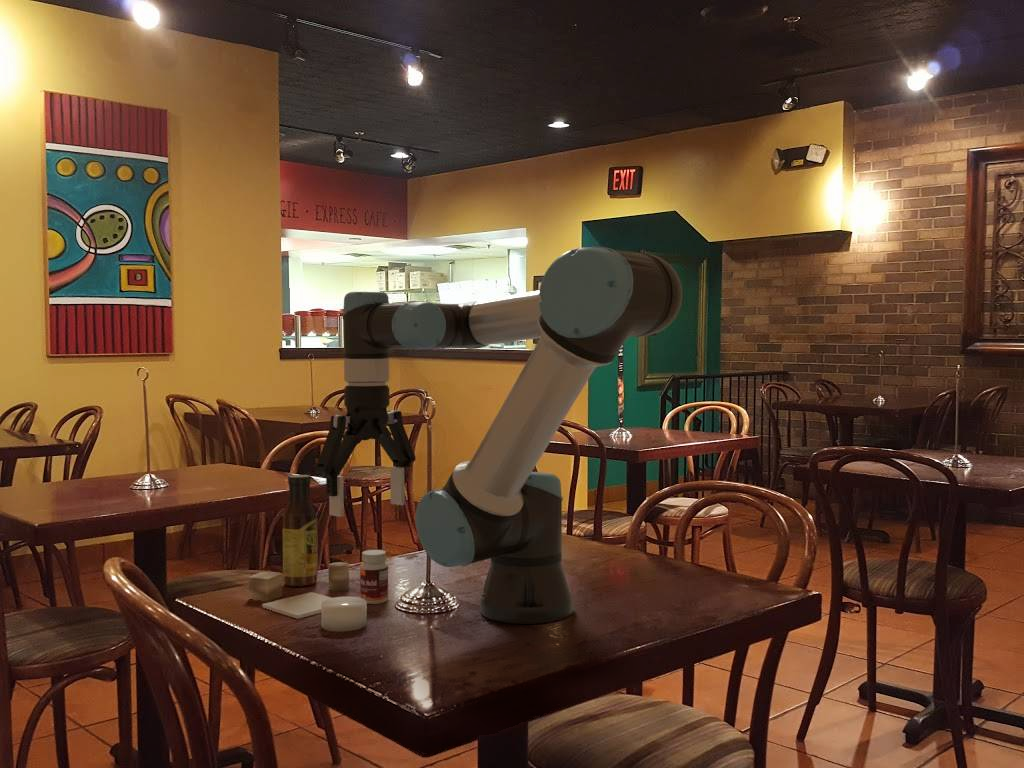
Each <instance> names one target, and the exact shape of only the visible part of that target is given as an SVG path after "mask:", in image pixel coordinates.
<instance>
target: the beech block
mask: <svg viewBox="0 0 1024 768" xmlns="http://www.w3.org/2000/svg"><path fill="white" fill-rule="evenodd" d="M282 596H283V573H277V572H271V571H270V572H267V571H261V572H258V573H256V574H253V575H250V576H248V600H249V599H255V600H254V601H257V600H261V601H260V602H266V601H267V602H266V603H268V602H272V601H273V600H274V601H275V600H277V599H279V598H280V597H282Z"/></svg>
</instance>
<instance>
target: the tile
mask: <svg viewBox="0 0 1024 768" xmlns="http://www.w3.org/2000/svg"><path fill="white" fill-rule="evenodd" d="M330 598H332V597H330V596H327V595H325V594H324V595H323V594H319V593H317V592H313V591H310V592H306V593H302V594H298V595H294V596H289V597H285V598H281V599H276V600H274V601H273V600H272V601H269V602H265V603H262V604H261V608H262V607H263V609H265V608H266V609H265V610H268V609H269V611H271V610H272V612H275V613H278V614H282V615H284V616H287V617H290V618H294V619H297V620H300V619H303V618H306V617H310V616H314V615H318V614H321V603H322V602H323V601H325V600H327V599H330Z"/></svg>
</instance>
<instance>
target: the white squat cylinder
mask: <svg viewBox="0 0 1024 768" xmlns="http://www.w3.org/2000/svg"><path fill="white" fill-rule="evenodd" d="M367 605H368V604H367V601H366V600H365V599H362V598H360V596H337V597H336V596H335V597H331V598H330V599H327V600H325V601H323V602H322V603H321V613H320V615H321V622H320V623H321V628H322V629H323V630H325V631H329V632H338V633H339V632H351V631H357V630H360V629H363V628H365V627H366V626H367V623H368V619H367V617H368V616H367V615H368V612H367V611H368V607H367Z"/></svg>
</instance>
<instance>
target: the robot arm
mask: <svg viewBox="0 0 1024 768" xmlns="http://www.w3.org/2000/svg"><path fill="white" fill-rule="evenodd" d="M540 282H541V283H540V285H539V290H534V291H533V290H532V291H527V292H521V293H517V294H511V295H510V294H509V295H504V296H499V297H498V296H497V297H493V298H489V299H488V298H487V299H482V300H478V301H471V302H465V303H438V302H437V303H436V302H430V301H423V300H410V301H402V302H391V303H390V301H389V296H388V294H387V292H385V291H349V292H348V293H346V294H345V295H344V298H343V311H342V312H343V313H342V317H341V318H342V324H343V325H342V327H343V328H342V329H343V368H344V369H343V374H344V375H343V381H344V382H345V383H347V385H345V387H343V391H344V392H343V393H344V394H343V395H344V397H343V398H344V399H343V400H344V401H343V402H344V405H343V406H345V409H346V415H344V414H342V415H341V414H332V415H331V416H330V422H329V431H328V433H327V435H326V438H325V441H324V444H323V446H322V449H321V452H320V455H319V457H318V459H317V462H316V465H315V469H314V470H315V473H318V474H321V475H322V476H325V486H326V487H325V489H326V490H325V492H326V496H328V497H329V501H328V503H329V504H328V506H329V507H328V509H329V512H328V513H329V516H334V517H339V518H342V517H345V509H344V508H345V507H344V506H345V505H344V504H345V500H344V493H345V492H344V491H345V490H344V489H345V488H344V486H345V485H344V476H343V475H342V476H341V475H340V474H341V472H342V470H343V468H345V465H346V464H347V462H348V461H349V459H350V457H351V455H352V454H353V452H354V451H355V449H356V447H357V445H359V444H360V443H361V442H362V441H368V440H376V441H377V442H378V443H379V444H380V446H381V448H383V450H384V452H385V453H386V455H387V456H388V457H389V459H390V460H391V462H392V463H393V466H390V469H389V470H390V471H389V472H390V474H389V475H390V483H389V484H390V505H397V506H405V501H406V500H405V485H407V468H410V467H411V466H412V463H414V462H415V461H416V454H415V452H414V449H413V447H412V445H411V442H410V439H409V437H408V434H407V432H406V431H407V430H406V429H405V426H404V424H403V417H402V416H403V415H402V411H400V410H394V409H393V410H392V409H391V410H388V409H387V408H388V407H389V406H390V400H391V399H390V386H389V385H387V383H389V381H390V354H389V353H390V350H391V349H395V350H396V349H397V350H410V351H411V350H412V351H417V350H420V351H421V350H428V349H430V350H432V349H433V350H434V349H442V350H443V349H467V350H475V349H481V348H486V347H487V346H490V345H498V344H505V343H512V342H519V341H525V340H527V341H528V340H534V339H535V340H536V339H539V340H538V342H537V343H536V345H535V346H534V349H533V350H532V352H531V354H530V356H529V357H528V359H527V361H526V362H525V364H524V366H523V368H522V370H521V371H520V373H519V375H518V377H517V379H516V380H515V382H514V383H513V386H512V387H511V389H510V391H509V393H508V394H507V397H505V400H503V401H504V402H503V403H502V405H501V407H500V408H499V410H498V412H497V414H496V415H495V417H494V419H493V421H492V423H491V424H490V426H489V428H488V430H487V431H486V433H485V435H484V437H483V439H482V441H481V442H480V444H479V445H478V447H477V449H476V451H475V453H474V454H473V456H472V458H471V460H467V461H462V462H460V463H458V464H457V465H456V466H455V467H454V469H453V471H452V472H451V474H450V475H449V478H448V479H447V481H446V483H445V485H444V486H443V487H442V488H441V489H439V488H437V489H435V488H434V489H431V491H429V492H427V493H425V494H424V495H423V496H422V497H421V498H420V499H419V501H418V504H417V506H416V510H415V528H416V530H417V537H418V541H419V542H420V544H421V547H422V549H423V550H424V552H425V553H426V555H427V556H428V557H429V558H430V559H431V560H432V561H433V562H435V563H436V564H438V565H439V566H443V567H446V568H455V567H466V566H469V565H471V564H475V563H478V562H482V561H485V560H490V565H489V569H488V573H487V575H486V579H485V583H484V587H483V591H482V593H480V594H481V595H480V598H479V602H480V604H479V607H480V608H479V609H480V610H479V611H480V614H481V615H482V616H484V617H485V618H487V619H489V620H493V621H496V622H501V623H506V624H507V623H508V624H521V625H522V624H523V625H526V624H527V625H528V624H529V625H531V624H532V625H533V624H543V623H545V624H546V623H551V622H557V621H559V620H563V619H566V618H568V617H569V616H571V615H572V613H573V611H574V608H573V607H574V606H573V604H574V603H573V596H572V593H571V592H570V588H569V584H568V580H567V578H566V574H565V571H564V568H563V564H562V563H563V561H562V560H563V559H562V557H563V556H562V555H563V554H562V551H563V550H562V549H563V545H562V543H563V541H562V540H563V538H562V537H563V536H562V535H563V531H562V530H563V529H562V527H563V523H562V521H563V519H562V518H563V514H562V513H563V512H562V511H563V510H562V508H563V506H562V505H563V499H564V497H563V496H562V483H561V480H560V478H559V476H557V475H556V474H553V473H547V472H539V471H533V470H534V469H535V467H536V466H537V464H538V463H539V461H540V459H541V457H543V454H544V452H545V451H546V449H547V447H548V446H549V445H550V443H551V441H552V439H553V438H554V436H555V435H556V433H557V432H558V429H559V428H560V427H561V424H562V423H563V421H564V419H566V417H567V415H568V413H569V411H570V410H571V408H572V407H573V405H574V404H575V402H576V400H577V399H578V397H579V395H580V394H581V392H582V390H583V389H584V388H585V386H586V384H587V382H588V380H589V379H590V378H591V375H592V374H593V372H594V371H595V370H596V368H599V367H603V366H608V365H610V364H612V362H613V361H614V360H615V358H616V356H617V354H618V353H619V351H620V350H621V348H622V347H623V345H624V344H625V342H626V341H627V339H628V338H632V337H633V338H635V337H636V338H637V337H639V338H640V337H648V336H651V335H655V334H657V333H659V332H662V331H663V330H665V329H666V328H668V326H670V325H671V324H672V323H673V322H674V320H675V319H676V318H677V316H678V314H679V312H680V308H681V306H682V301H683V288H682V282H681V279H680V278H679V275H678V274H677V272H676V271H675V269H674V268H673V267H672V265H670V263H668V262H667V261H666V260H664V259H663V258H661V257H659V256H657V255H655V254H650V253H645V252H636V251H634V252H633V251H627V250H624V251H623V250H617V249H613V248H610V247H606V246H598V245H597V246H590V247H589V246H588V247H577V248H574V249H571V250H568V251H566V252H564V253H562V254H561V255H560V256H558V257H557V258H556V259H555V260H554V261H552V263H551V264H550V265H549V266H548V268H547V270H546V271H545V273H544V275H543V277H542V279H541V281H540ZM389 349H390V350H389ZM387 410H388V411H387ZM387 424H388V427H387ZM346 428H347V429H346Z"/></svg>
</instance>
